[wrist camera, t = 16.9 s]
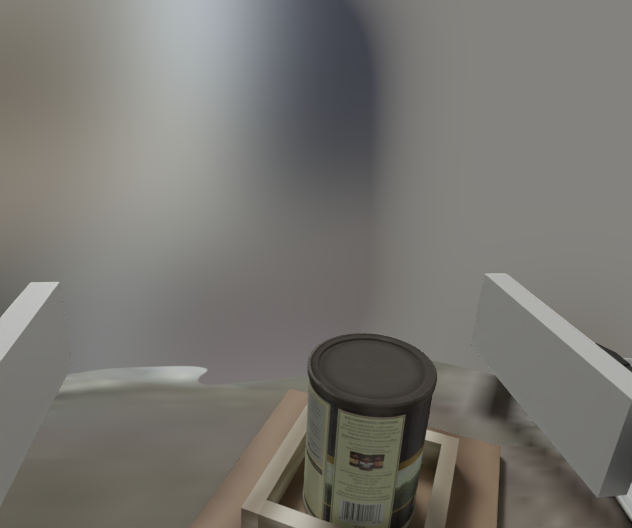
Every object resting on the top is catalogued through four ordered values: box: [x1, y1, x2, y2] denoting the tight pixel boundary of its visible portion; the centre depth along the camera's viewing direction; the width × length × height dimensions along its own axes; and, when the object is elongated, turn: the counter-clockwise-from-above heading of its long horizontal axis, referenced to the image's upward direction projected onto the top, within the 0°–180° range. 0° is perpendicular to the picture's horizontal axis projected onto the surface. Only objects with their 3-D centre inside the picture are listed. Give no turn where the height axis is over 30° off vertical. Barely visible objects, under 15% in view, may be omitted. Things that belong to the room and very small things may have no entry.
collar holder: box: [190, 389, 501, 528], centre depth 45 cm, size 24×24×4 cm
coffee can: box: [302, 333, 437, 528], centre depth 43 cm, size 10×10×14 cm
